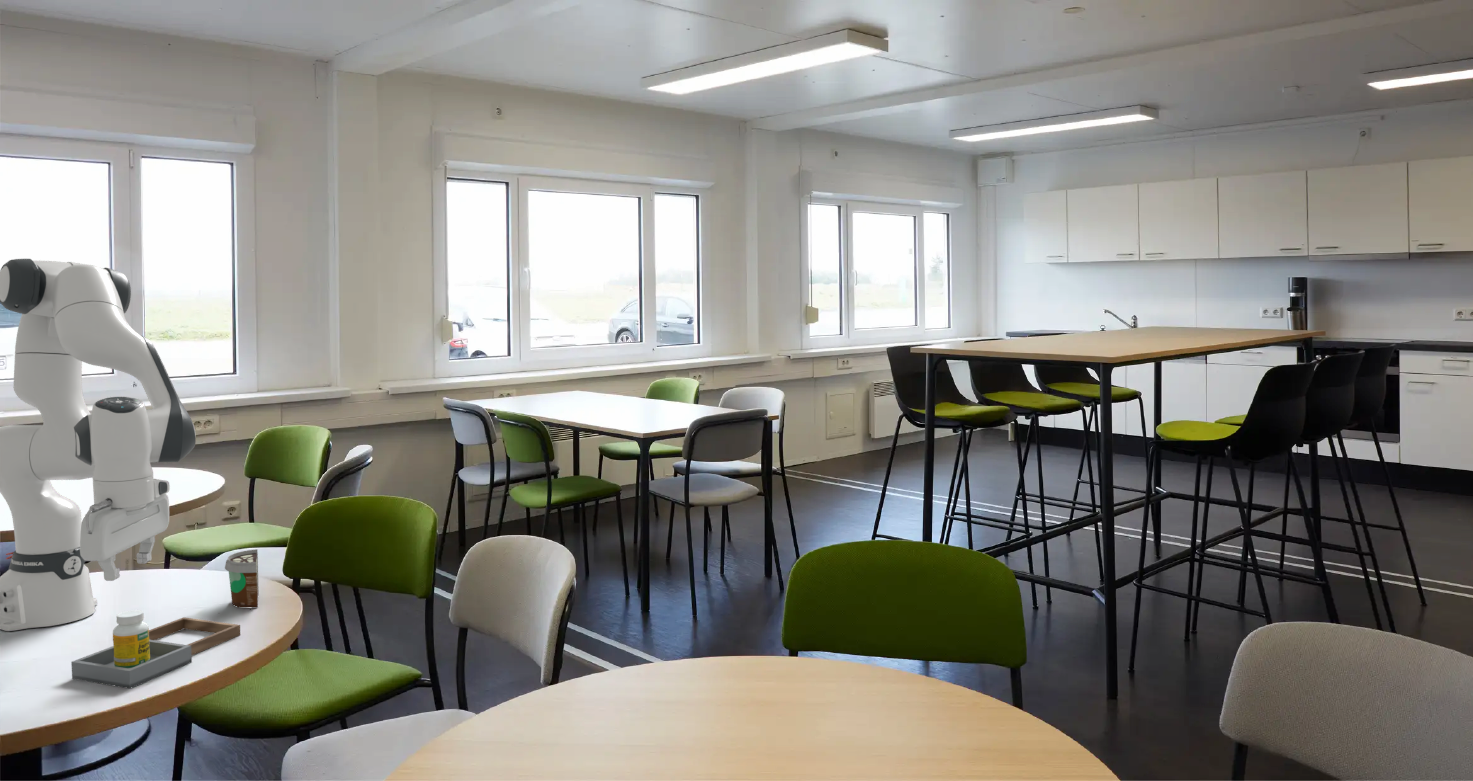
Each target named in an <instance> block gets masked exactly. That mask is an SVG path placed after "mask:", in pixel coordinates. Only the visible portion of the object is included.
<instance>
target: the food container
mask: <svg viewBox="0 0 1473 781" xmlns="http://www.w3.org/2000/svg"><path fill="white" fill-rule="evenodd" d="M258 554H259V553H258V549H256V548H255V549H248V550H242V551H237V552H234V553H232V554H230V555H229V556H227V559H226V561H225V564H224V570H226V571H227V572H228V577H229V578H228V580H229V586H230V595H231V597H230V598H231V605H232V604H233V605H235V606H237V607H236V608H239V607H258V608H259V597H260V596H259V595H260V594H259V592H260V591H259V564H258V563H259V561H258V560H259V558H258V557H259V556H258ZM258 596H259V597H258ZM233 605H232V606H233ZM235 606H234V607H235Z"/></svg>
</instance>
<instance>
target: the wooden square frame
mask: <svg viewBox="0 0 1473 781" xmlns="http://www.w3.org/2000/svg"><path fill="white" fill-rule="evenodd" d="M182 630H189V631H197V632H204V633H212V634H209V635H207V636H204V637H203V638H201V639H198V640H195V641H193V642H190V643H187V645H190V646H191V654H192V656H195V655H197V654H199V653H201V652H203V651H205V650H209V649H211V648H213V647H215V646H218V645H220V644H222V643H224V642H228V641H230V640H232V639H235V638H236V637H239V636H241V625H240V624H238V623H237V624H235V623H227V622H221V621H220V622H219V621H215V620H214V621H213V620H208V619H207V620H206V619H201V618H200V619H199V618H191V617H185V616H184V617H182V618H179V619H175V620H173V621H170V622H168V623H165V624H162V625H159V626H157V627H154V628H150V629H149V640H156V641H158V640H159V639H161V638H164V637H166V636H169V634H170V635H172V634H175V633H177V632H179V631H182Z"/></svg>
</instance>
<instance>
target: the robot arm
mask: <svg viewBox="0 0 1473 781" xmlns="http://www.w3.org/2000/svg"><path fill="white" fill-rule="evenodd" d="M131 298H132V288H131V284H130V280H129V279H128V277H127V276H126V275H125V273H123V272H121V271H118V270H117V269H113V268H109V267H98V266H95V265H92V264H85V263H80V262H74V261H73V262H72V261H55V260H53V261H52V260H32V259H31V258H14V259H9V260H8V261H7V262H5V263H4V264H3V265H2V266H1V268H0V304H1V305H2V306H3V307H4V308H5V309H6V310H8V311H11V312H15V313H17V314H18V313H19V314H21V316H20V320H19V323H18V328H17V332H16V338H15V346H14V368H13V369H14V370H13V372H14V373H13V386H12V387H13V391H14V393H15V395H16V396H17V398H19V399H20V400H21V401H22V402H24V403H25V404H27V405H30V406H32V407H34V408H36V409H37V410H38V411H39V413H40V415H41V418H42V422H43V424H28V425H27V424H25V425H24V424H8V425H7V424H6V425H2V426H1V425H0V494H1V495H2V497H3V499H4V500H5V502H6V504H7V506H8V508H9V511H10V513H11V514H10V515H11V517H12V525H13V534H14V543H15V544H14V546H15V550H14V551H12V552H8V553H5V556H7V557H6V558H5V560H10V563H9V567H8V570H7V571H5V572H4V573H2V575H1V576H0V630H2V631H5V632H10V631H12V632H13V631H19V630H25V629H33V628H44V627H52V626H58V625H64V624H67V623H68V624H69V623H71V622H76V621H78V620H82V619H84V618H87V617H89V616H91V615H93V614H94V613H95V612H96V610H97V609H96V606H97V605H98V598H97V597H94V594H93V587H92V582H91V581H92V580H91V575H90V570H89V567H88V566H86V565H85V562H97V563H98V565H99V566H100V568H101V570H102V571H103V579H104V581H107V582H113V581H115V580H117V579H119V578H120V576H121V575H120V568H119V567H116V564H115V561H116V560H117V559H116V555H119V554H120V553H122V552H124V551H127V550H128V549H130V548H132V547H134V546H136V545H138V544H139V550H138V552H137V553H136V562H137V564H141V565H142V564H145V565H146V564H148V563H149V562H151V561H152V559H153V558H152V551H153V549H154V545H155V543H156V535H159V534H161V533H163V532H165V531H167V529H168V526H169V523H170V501H169V500H170V499H169V496H168V494H167V493H170V489H171V488H170V487H171V486H170V481H169V480H165V479H160V478H159V479H157V478H154V469H153V468H152V465H151V463H156V462H157V463H178V462H180V461H182V459H183V460H184V458H186V457H187V455H189V454H190V453H191V452H192V451H193V449H194V448H195V447H196V442H197V441H196V438H197V437H196V436H197V435H196V429H195V424H194V422H193V421H192V418H191V416H190V414H189V412H188V411H187V410H186V408H185V407H184V405H183V404H182V402H181V399H180V397H179V394H177V391H176V389H175V387H174V386H175V385H173V383H172V380H171V378H170V376H169V373H168V371H167V369H166V367H165V364H164V363H163V360H162V358H161V357H160V354H159V353H158V351H157V349H156V348H155V345H154V344H153V343H152V341H151V340H150V339H149V338H147V337H145V336H144V335H141V334H139V333H138V332H137V331H135V330H134V328H133V327H132V326H130V324H129V323H128V321H127V319H126V316H125V314H126V313H127V311H128V309H129V307H130V303H131ZM82 363H86V364H88V365H91V366H96V367H100V368H106V369H112V370H115V371H118V372H122V373H124V374H128V375H130V376H131V377H132V376H133V377H134V378H135V379H137V380H138V381H139V382H140V384H141V385H142V388H143V390H144V392H145V394H146V396H147V399H148V401H149V404H150V405H151V408H148V409H147V408H146V405H145V402H143V401H142V400H140V399H139V398H138V399H137V398H135V397H129V396H112V397H111V396H110V397H106V398H102V399H100V400H99V399H98V400H97V401H96V402H94V403H93V405H92V410H91V412H90V410H89V408H88V406H87V404H86V401H85V398H84V394H83V378H82V372H83V371H82V369H83V364H82ZM86 479H92V491H93V504H92V505H90V506H89V508H88V511H87V512H86V513H85V514H84V517H82V511H81V510H82V509H80V507H79V505H78V504H77V503H76V502H75V501H74V500H72V499H71V498H68V497H67V496H66V497H65V496H64V495H61V494H60V493H59V492H58V491H57V490H56V489H55V488H54V486H53V484H52V482H51V481H68V480H69V481H70V480H71V481H79V480H86Z"/></svg>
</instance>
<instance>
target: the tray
mask: <svg viewBox="0 0 1473 781" xmlns="http://www.w3.org/2000/svg"><path fill="white" fill-rule="evenodd" d="M149 646H150V661H148V662H145V663H143V664H140V665H138V666H135V667H133V668H131V669H128V668H122V667H116V666H115V665H114V646H113V645H112V646H110V647H107V648H105V649H102V650H99V651H96V652H94V653H91V654H88V655H86V656H83V657H80V658H78V659H75V660H72V661H71V680H77V681H82V682H89V683H94V682H95V683H94V684H100V683H103V684H102V685H106V684H107V686H112V685H115V686H114V687H118V686H119V687H120V688H124V687H127V688H126V689H132V688H135V687H137V686H139V685H141V683H142V684H144V683H147V682H148V681H151V680H154V679H155V678H159V677H160V676H162V675H164V674H167V673H170V672H172V671H174V670H176V669H178V668H181V667H183V666H185V665H188V664H191V663H192V662H193V661H192V660H193V659H192V656H193V655H192V654H191V646H190V645H188V644H183V643H182V644H181V643H174V642H168V641H162V640H149ZM136 685H137V686H136ZM134 686H135V687H134ZM131 687H132V688H131Z"/></svg>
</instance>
